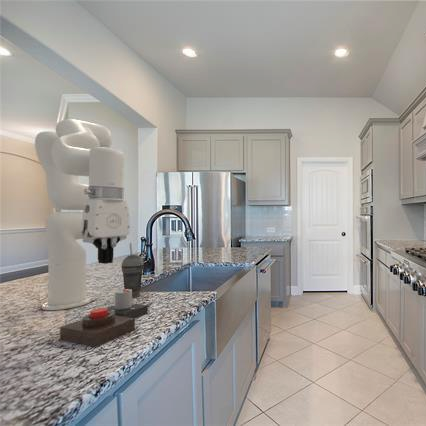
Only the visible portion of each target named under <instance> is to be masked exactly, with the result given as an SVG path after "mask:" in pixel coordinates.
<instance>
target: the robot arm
mask: <svg viewBox="0 0 426 426" xmlns="http://www.w3.org/2000/svg"><path fill="white" fill-rule="evenodd" d="M112 144H113V136H112V133H111V130H110V129H109V128H108V127H106V126H105V125H101V124H97V123H92V122H88V121H83V120H78V119H73V118H67V119H62V120H60V121H59V122H57V123H56V125H55V131H52V130H51V131H50V130H44V131H40V132H38V133H37V134H36V136H35V138H34V149H35V154H36V157H37V159H38V161H39V163H40V166H41V167H42V169H43V171H44V174H45V179H46V190H47V198H48V202H49V205H50V206H51V208H53V209H55V210H60V211H57V212H52V213H51V214H49V215H47V217H46V218H45V219H44V230H45V233H46V239H47V247H48V249H47V250H48V252H47V253H48V266H47V267H48V269H47V270H48V273H47V274H48V275H47V277H48V278H47V279H48V282H47V283H48V284H47V285H48V287H47V289H48V291H47V292H46V293H45V294H44V297H45V298H47V301H46V302H44V303H42V304H41V310H44V311H59V310H60V311H61V310H67V309H68V310H69V309H74V308H79V307H81V306H84V305H88V304H89V303H91V302H92V297H91V296H89V295H86V293H87V290H86V289H87V253H86V249H85V247H83V246H82V245H81V244H80V242H78V240H82V243H88V244H92V245H93V246H94V247H95V248H96V249H97V262H98V264H104V265H106V264H107V265H108V264H113V262H114V248H116V247H117V244H119V242H121V241H124V240H127V237H128V235H130V233H131V216H130V209H129V204H128V202H127V200H125V199H124V198H125V196H124V195H125V154H124V152H123V151H121V150H120V149H116V148H111V146H112ZM79 177H88V184H85V183H81V182H80V179H79Z"/></svg>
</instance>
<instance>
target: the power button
mask: <svg viewBox="0 0 426 426" xmlns="http://www.w3.org/2000/svg"><path fill="white" fill-rule="evenodd" d="M89 314H90V318H100V317H105V316H107V315H108V308H107V307H97V308H94V309H92V310H90V311H89Z"/></svg>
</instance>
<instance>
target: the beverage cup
mask: <svg viewBox="0 0 426 426" xmlns="http://www.w3.org/2000/svg"><path fill="white" fill-rule="evenodd" d="M129 252H130V254H129V255H127V256H126V257H125V258H123V260H122V263H121V266H120V268H121V272H122V277H123V279H122V281H123V290H124V289H131V290H132V299H134V298H138V297H140V295H141V294H140V293H141V289H142V279H143V271H144V267H145V262H144V260H143V258H142V257H141V256H140V255H138V254H133V249H132V243H131V242H129Z"/></svg>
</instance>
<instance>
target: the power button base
mask: <svg viewBox="0 0 426 426" xmlns="http://www.w3.org/2000/svg"><path fill="white" fill-rule="evenodd" d="M135 324H136V318H129V317H123V316H116V315H115V312H113V311H108V315H107V316H105V317H100V318H90V313H88V314H86V315H84V316H82V318H81V319H80V320H77V321H74V322H72V323H68V324H65V325H62V326H59V340H60V341H63V342H64V341H65V342H68V343H74V344H79V345H85V346H89V347H95V348H96V347H99V346H100V345H103V344H106V343H107V342H110V341H111V340H115V339H117V338H119V337H121V336H125V335H126V334H129V333H131V332H134V331H135V330H136V325H135Z"/></svg>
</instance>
